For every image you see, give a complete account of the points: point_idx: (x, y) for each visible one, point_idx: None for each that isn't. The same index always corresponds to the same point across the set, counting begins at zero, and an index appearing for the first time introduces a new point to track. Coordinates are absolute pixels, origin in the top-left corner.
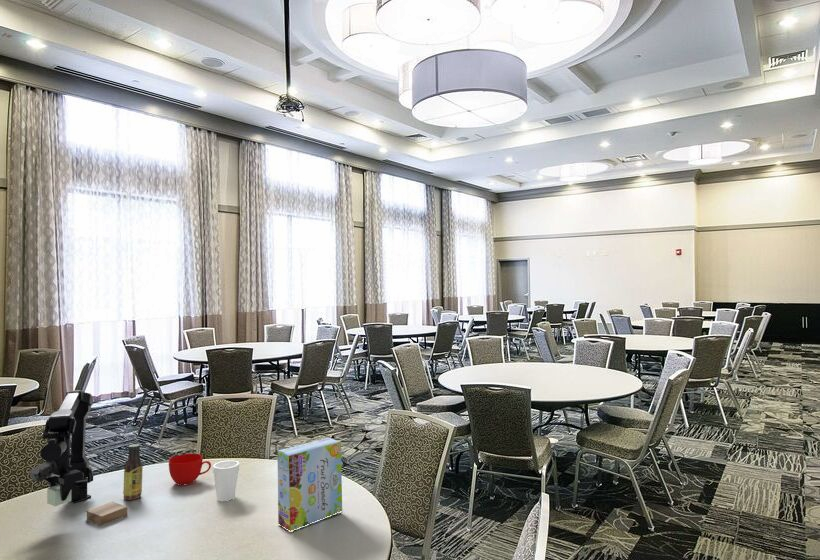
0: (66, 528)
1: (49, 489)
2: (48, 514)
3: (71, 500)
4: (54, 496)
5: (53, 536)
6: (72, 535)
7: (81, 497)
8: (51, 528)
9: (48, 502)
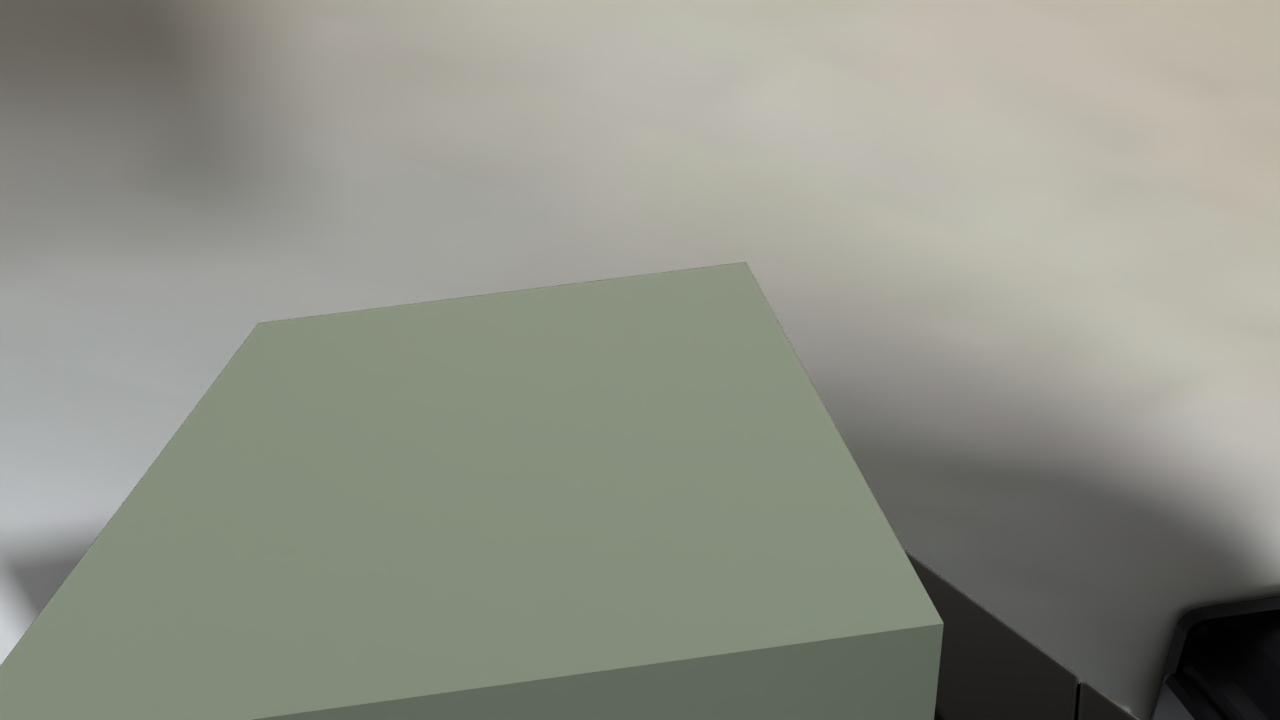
0: (404, 297)
1: (686, 637)
2: (1177, 310)
3: (1266, 618)
4: (190, 513)
5: (207, 54)
6: (30, 263)
7: (1175, 710)
8: (598, 154)
9: (671, 289)
